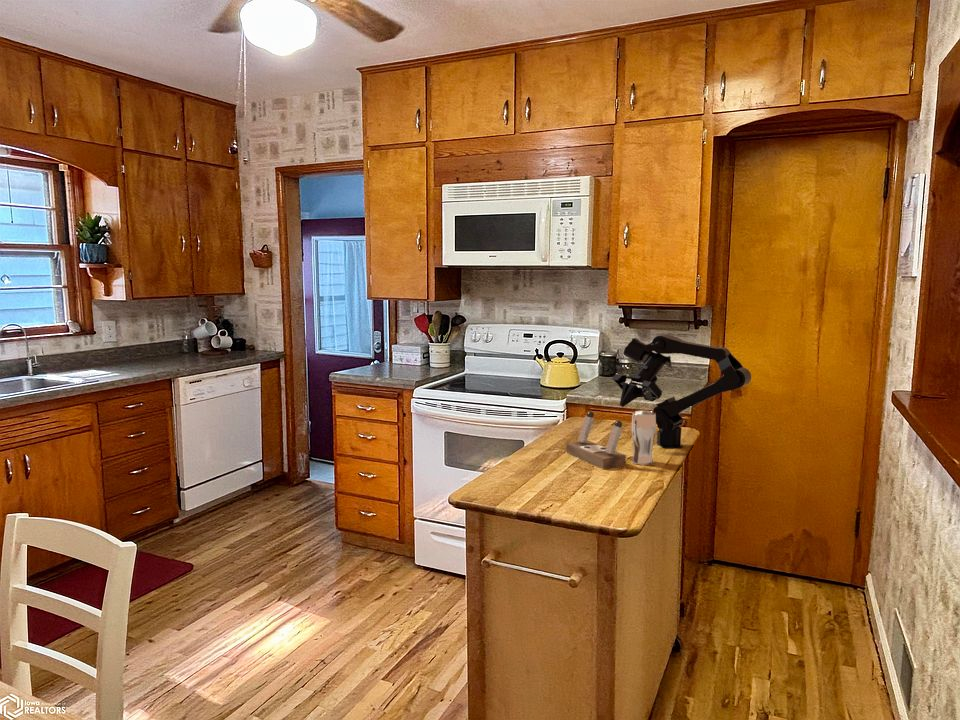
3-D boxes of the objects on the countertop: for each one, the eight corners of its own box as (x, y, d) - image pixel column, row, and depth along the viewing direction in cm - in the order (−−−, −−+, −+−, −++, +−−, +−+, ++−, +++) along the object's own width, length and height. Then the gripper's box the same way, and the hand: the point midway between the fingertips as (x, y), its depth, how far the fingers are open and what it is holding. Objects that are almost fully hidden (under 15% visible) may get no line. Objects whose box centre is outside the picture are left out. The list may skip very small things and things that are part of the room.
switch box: (587, 449, 206) (587, 438, 206) (625, 465, 189) (625, 453, 189) (566, 452, 203) (566, 441, 202) (603, 469, 186) (603, 457, 185)
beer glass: (652, 459, 196) (654, 410, 194) (656, 466, 189) (658, 415, 187) (629, 458, 196) (630, 409, 194) (632, 465, 189) (633, 414, 187)
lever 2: (609, 452, 191) (619, 420, 191) (615, 454, 189) (625, 422, 189) (603, 451, 190) (613, 418, 190) (609, 453, 188) (619, 420, 188)
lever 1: (582, 441, 204) (591, 411, 204) (586, 443, 201) (596, 413, 201) (576, 439, 202) (586, 409, 203) (581, 441, 200) (591, 411, 200)
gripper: (683, 389, 205) (654, 427, 202) (644, 380, 222) (616, 415, 218) (664, 366, 201) (634, 405, 197) (626, 359, 217) (598, 394, 214)
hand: (621, 405), depth 207 cm, fingers closed
